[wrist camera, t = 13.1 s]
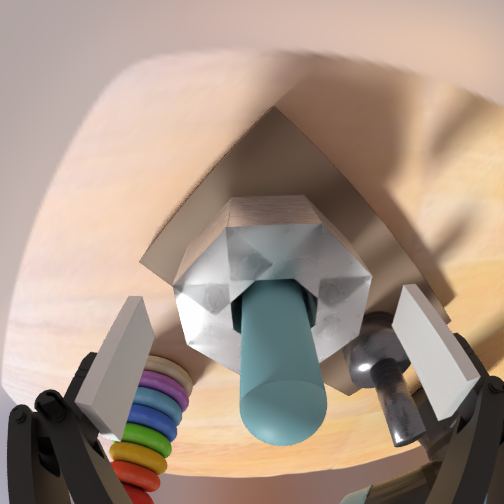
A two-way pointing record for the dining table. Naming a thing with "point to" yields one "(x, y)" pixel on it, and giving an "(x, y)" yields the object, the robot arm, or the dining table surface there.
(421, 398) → the robot arm
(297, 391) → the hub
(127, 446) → the stacking toy
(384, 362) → the stand rod
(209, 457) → the dining table surface
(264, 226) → the steel ring
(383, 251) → the walnut board
